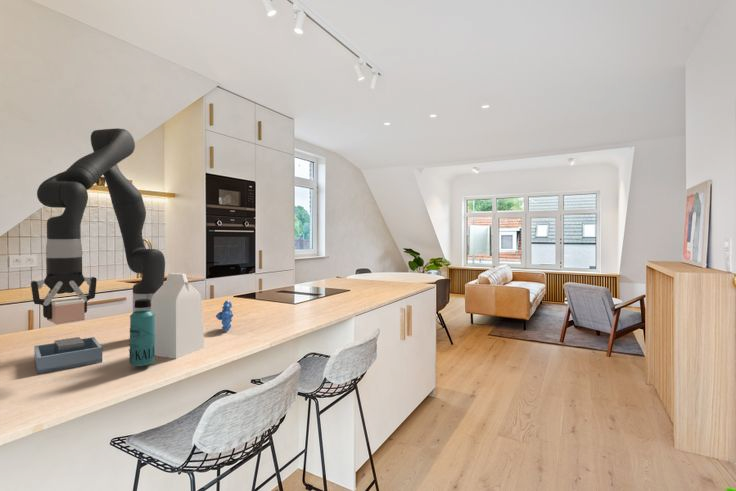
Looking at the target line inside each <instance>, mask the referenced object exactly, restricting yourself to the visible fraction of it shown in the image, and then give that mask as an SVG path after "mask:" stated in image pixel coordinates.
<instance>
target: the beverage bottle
mask: <svg viewBox="0 0 736 491" xmlns="http://www.w3.org/2000/svg"><path fill="white" fill-rule="evenodd" d="M134 307H135V308H146V307H151V301H150V299H140V300H136V301H135V305H134ZM129 320H130V321H129V328H128V329H129V349H128V352H129V353H128V356H129V357H128V359H129V360H128V362H129V364H130V366H131V367H132V366H133V367H141V366H147V365H150V364H152V363H154V362H155V358H156V356H155V314H154V313H153V312H152V311H151V310H139V311H135V312H133V311H132V313H131V314H130V315H129Z"/></svg>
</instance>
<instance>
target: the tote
mask: <svg viewBox="0 0 736 491" xmlns="http://www.w3.org/2000/svg"><path fill="white" fill-rule="evenodd" d="M81 339H82V340H83V341H84V350H79V351H73V352H67V353H61V354H55V355H54V342H53V343H52V342H51V343H45V344H38V345H34V348H33V349H34V354H33V355H34V364H35V367H36V368H35V369H36V373H37V375H42V374H46V373H52V372H57V371H62V370H68V369H73V368H78V367H83V366H88V365H94V364H99V363H103V346H102V345H101V344H100V342H99V341H98V340H97V339H96V338H95V337H92V336H91V337H84V338H81Z"/></svg>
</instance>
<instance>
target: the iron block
mask: <svg viewBox="0 0 736 491" xmlns="http://www.w3.org/2000/svg"><path fill="white" fill-rule="evenodd" d="M82 339H83V338H81V337H80V336H77V337H69V338H64V339H57V340H54V341H53V343H54V355H55V354H61V353H67V352H73V351H79V350H84V341H83V340H82Z"/></svg>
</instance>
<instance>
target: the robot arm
mask: <svg viewBox="0 0 736 491" xmlns="http://www.w3.org/2000/svg"><path fill="white" fill-rule="evenodd" d="M134 139H135V138H134V137H133V135H132V133H131V132H130V131H128V130H126V128H125V129H124V128H107V129H106V128H105V129H95V130H93V131H92V132H91V134H90V143H91V144H90V145H91V148H92V151H93V152H90V153H88V154H86V155H84V156H82V157H80V158H78V159H77V160H75V162H73V164H71V165H70V166H69V167H68V168H67V169H65V171H62V172H59V173H57V174H54V175H53V176H51V177H49V178H46V179H45V180H43V182H41V183H40V185H39V186H38V188H37V190H36V197H37V199H38V201H39V202H40V203H41V205H43V206H45V207H47V208H59V209H60V208H64V210H63V212H62V214H61V215H58V216H52V217H49V218H48V219H47V221H46V245H45V259H46V260H45V261H46V262H45V265H46V269H45V271H46V273H45V274H46V276H45V277H44V279H41V280H31V282H30V287H31V288H30V289H31V294H32V301H33V303H34V305H41V306H42V316H43V317H44V318H45V319H46V320H47V321H48V320H49V319H51V307H50V304H49V303H50V302H51V300H52V299H55V297H56V295H62V294H66V293H67V294H73V293H75V294H76V295H77V298H80V299H83V300H85V303H84V314H86V313H87V312H88V301H90V300H92V299H95V298H96V291H97V280H98V279H97V277H95V276H91V277H90V276H89V277H85V276H84V274H83V248H82V246H83V245H82V240H81V223H82V221H83V220H82V219H83V216H84V213H85V209H86V207H87V205H88V201H89V193H88V190H89V189H91V188H92V187H93V186H94V185H95V184H96V183H97V182H98V181H99V180H100V178H101V177H103V178H104V181H105V184H106V187H107V190H108V194H109V197H110V200H111V204H112V207H113V211H114V214H115V216H116V221H117V223H118V227H119V231H120V234H121V237H122V238H121V239H122V241H123V247H124V253H125V259H126V263H127V265H128V268H129V270H130V271H132V272H133V273H135V274H141V279H140V281H139V282H138V283H135V284H134V285H133V286H132V313H133V312H135V311H139V310H151V307H146V308H135V307H134V305H135V301H136V300H140V299H150V301H151V300H152V297H153V295H154V294H155V292H156V291H157V290H158V289H159V288H160V287H161V286H162V285H163V284H164V283H165V275H166V274H165V273H166V272H165V271H166V258H165V255H164V253H163V252H162V251H161V250H160V249H156V248H146V245H145V242H144V239H143V229H144V224H145V221H146V215H147V211H146V207H145V202H144V199H143V195H142V194H141V192H140V191H139V189H138V188H137V187H136V186H135V185H134V184H133V183H132V182H131V181H130V180H129V179H128V178H126V176H125V175H124V174H123V173H122V172H121V170H120V168H119V165H118V164H119V163H120V162H122V161H123V160H125V159H126V158H128V157H130V156H131V155H132V154H133V153H134V151H135V149H136V148H135V147H136V142H135V140H134ZM84 282H85V283H86V285H88V294H86V295H85V294H84V292H83V290H81V289H80V287H81V286H82V285H83V283H84ZM44 284H45V286H47V287H48V288H49V291H48V292H47V294H46V295H45V297H44V299H42V298H40V292H39V290H40V289H42V287H43V285H44Z"/></svg>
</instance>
